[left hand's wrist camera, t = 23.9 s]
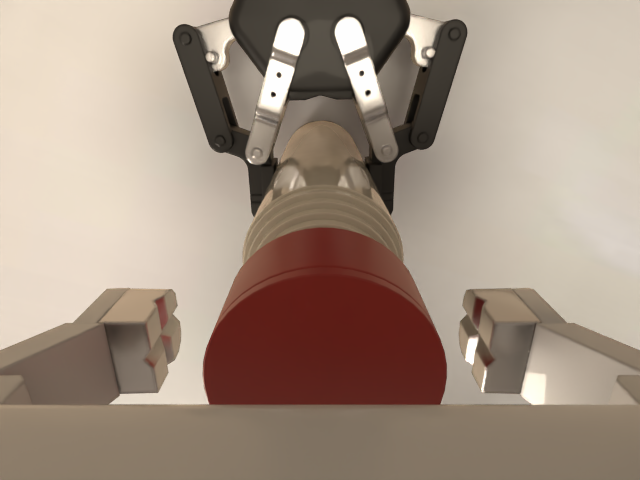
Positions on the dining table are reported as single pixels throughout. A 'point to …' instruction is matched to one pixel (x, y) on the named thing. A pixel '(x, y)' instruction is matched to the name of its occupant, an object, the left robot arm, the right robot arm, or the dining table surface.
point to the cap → (324, 328)
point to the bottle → (321, 192)
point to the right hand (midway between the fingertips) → (322, 224)
